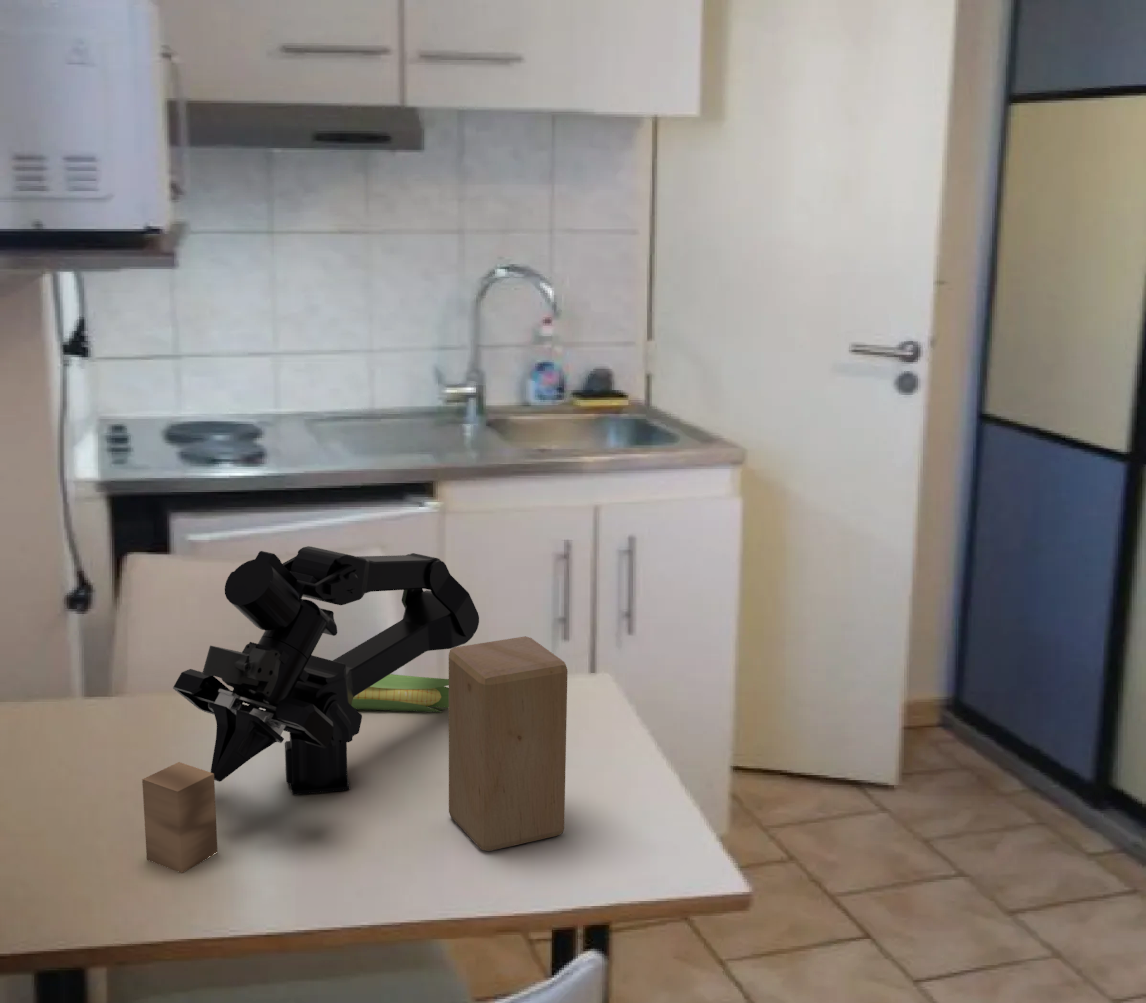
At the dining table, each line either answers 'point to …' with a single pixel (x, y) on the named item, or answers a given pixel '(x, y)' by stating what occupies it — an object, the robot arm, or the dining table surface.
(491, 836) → the wooden block
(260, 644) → the robot arm
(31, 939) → the dining table surface
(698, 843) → the dining table surface
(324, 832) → the dining table surface
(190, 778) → the walnut block
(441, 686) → the edible corn
